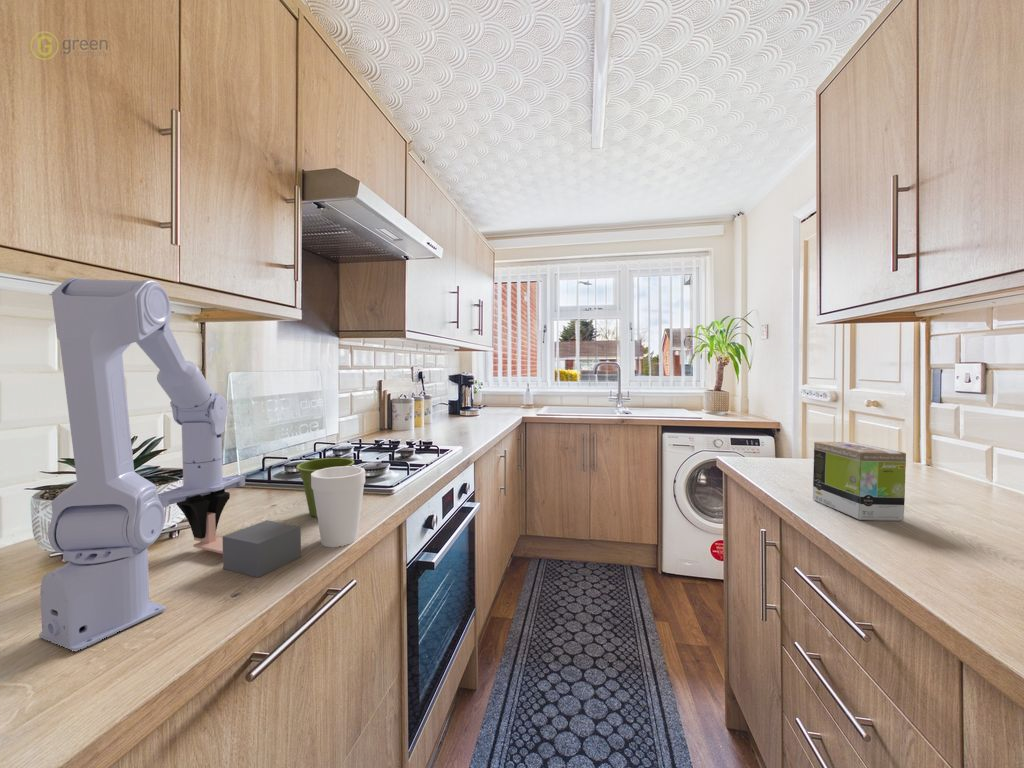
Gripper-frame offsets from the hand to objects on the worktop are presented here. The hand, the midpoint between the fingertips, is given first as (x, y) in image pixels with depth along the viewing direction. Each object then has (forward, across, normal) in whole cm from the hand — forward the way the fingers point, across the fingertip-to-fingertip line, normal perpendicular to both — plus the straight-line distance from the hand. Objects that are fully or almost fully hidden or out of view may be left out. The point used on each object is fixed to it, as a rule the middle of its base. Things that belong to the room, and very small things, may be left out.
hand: (204, 535), depth 77 cm
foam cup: (+3, +12, -20) cm, 23 cm away
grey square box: (+2, 0, -14) cm, 15 cm away
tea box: (+3, +67, -118) cm, 135 cm away
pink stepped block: (+1, 0, -3) cm, 4 cm away
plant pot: (+3, +23, -6) cm, 24 cm away
